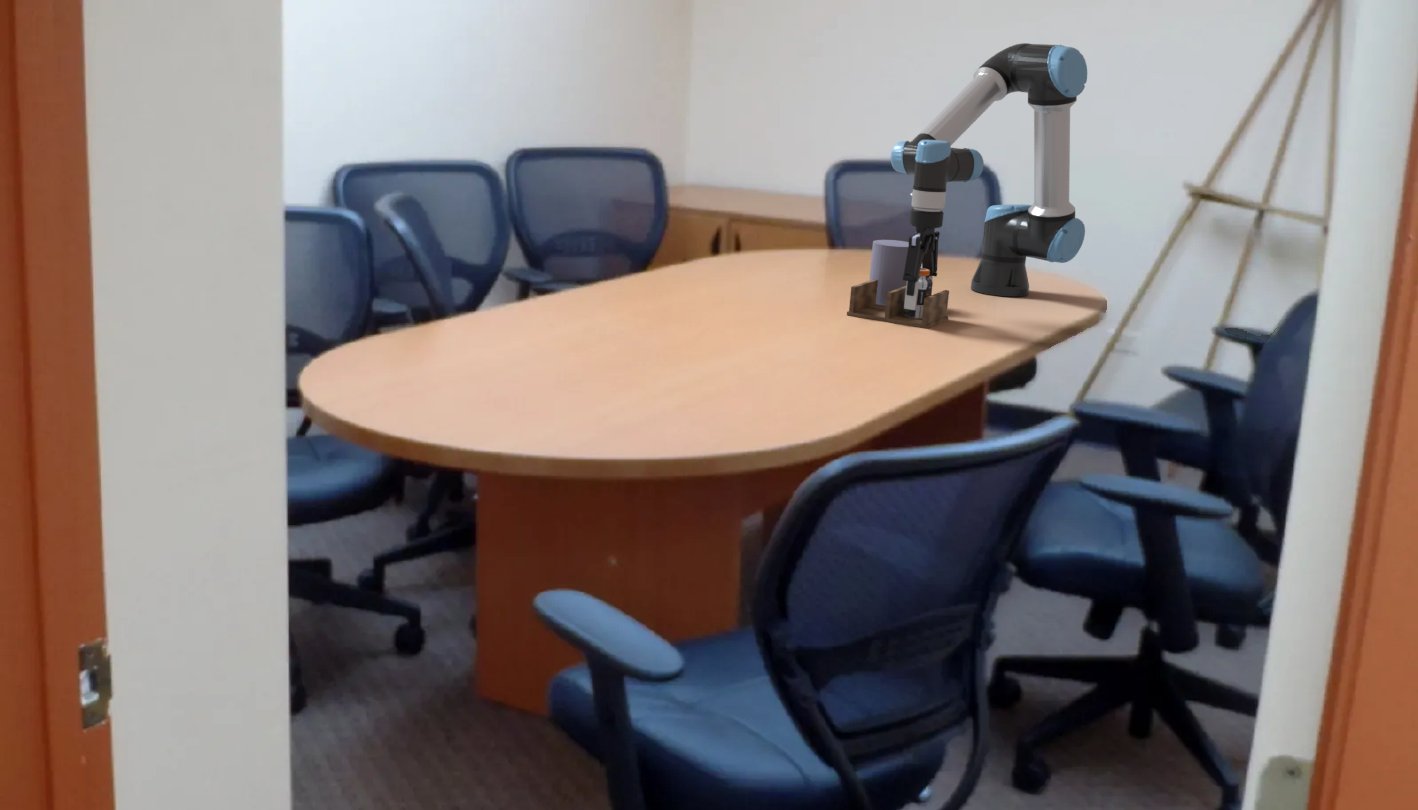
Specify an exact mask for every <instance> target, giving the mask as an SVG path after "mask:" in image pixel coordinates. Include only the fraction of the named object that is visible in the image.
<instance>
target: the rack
mask: <svg viewBox="0 0 1418 810" xmlns="http://www.w3.org/2000/svg"><path fill="white" fill-rule="evenodd" d="M877 287H878V280H877V279H873V280H870V281H869V280H868V281H865V282H861V283H859V284H856V285H852V286H850V294H849V295H850V296H849V307H848V308H849V309H848V311H846V316H850V317H856V318H862V319H868V320H874V321H879V322H886V323H891V324H897V325H898V324H899V325H903V326H910V327H916V328H922V329H931V328H932V327H934V326H937V325H938V324H941V323H943V322H946V321H947V320H949V315H947V313H948V306H949V304H948V303H949V295H950V290H947V289H943V290H941V291H939V292H937V293H934V294H931V296H929V297H926V298H924V305H923V315H922V319H914V318H909V317H906V316H904V303H905V293H906V286H904V287H901V288H898V289H896V290H893V291H890V292H887V300H886V306H884V305H878V304H876V297H877Z"/></svg>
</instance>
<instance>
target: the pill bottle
mask: <svg viewBox="0 0 1418 810" xmlns="http://www.w3.org/2000/svg"><path fill="white" fill-rule="evenodd" d="M929 275H930V270H928V269H924V268H922V267H921V269H920V272H919V276H918V280H917V282H919V287H918V297H917V306H916V310H910V309H904V316H906V317H909V318H914V319H922V315H923V305H924V298H926V297H929V296H931V295H933V294H932V293H933V286H934V285H933V283H934V282H933V281H932V280H931V279H930V278H929Z"/></svg>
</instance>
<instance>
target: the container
mask: <svg viewBox="0 0 1418 810" xmlns="http://www.w3.org/2000/svg"><path fill="white" fill-rule="evenodd" d="M908 247H909V241H904V240H897V239H896V240H895V239H876V240H873V241H872V249H871V261H870V269H869V279H868V281H870V280H873V279H877V280H878V287H877V297H876V304H878V305H884V306H886V300H887V292H890V291H893V290H896V289H898V288H901V287H904V286H906V283H907V281H905V280H903V276H904V270H905V264H906V258H907V252H908ZM911 275H912V274H911Z"/></svg>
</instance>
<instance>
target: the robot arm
mask: <svg viewBox="0 0 1418 810" xmlns="http://www.w3.org/2000/svg"><path fill="white" fill-rule="evenodd" d="M1087 82H1088V66H1087V62H1086V59H1085V57H1084V55H1083V54H1082V53H1081V52H1080V50H1079V49H1077V48H1076V47H1072V46H1065V45H1062V44H1045V43H1044V44H1041V43H1040V44H1039V43H1029V42H1028V43H1025V42H1023V43H1018V44H1017V43H1016V44H1014V45H1011V46H1008V47H1006V48H1004V49H1001V51H999V52H996V53H995V54H994V55H993V56H991V57H990V58H988V59H987V60H986V61H984V63H983V64H981V65H980V66H979V68H978V69H975V72H974V74H973V78H972V80H971V81H970V82H969V83H968V84H967V85H966V86H965V87H964V88H963V89H962V90H961V91H960V92H959V93H958V94H957V95H956V96H955V97H954V98H953V99H952V100H951V101H950V102H949V103H948V104H947V105H946V106H945V107H944V108H943V109H942V110H941V111H940V112H939V113H938V114H937V115H936V116H935V117H934V118H933V119H932V120H931V121H930V122H929V123H928V124H927V125H926V126H925V127H924V128H923V129H922V130H921V131H920V132H919V133H918V134H917V136H915V138H913V139H912V140H911V141H909V140H905V141H904V140H903V141H902V140H901V141H898V142H897V143H896V144H895V145H894V146H893V147H892V149H891V152H890V163H891V166H892V169H894V171H896V172H897V173H901V174H905V175H908V176H913V178H914V179H913V185H912V192H911V193H909V194H910V197H911V207H912V208H911V209H910V210H909V211H910V213H909V222H908V223H909V224H910V226H913V227H915V231H914V234H913V235H909V237H908V242H909V247H908V252H907V258H906V264H905V270H904V276H903V280H905V281H907V283H906V293H905V303H904V309H910V310H916V306H917V297H918V287H919V282H917V280H918V276H919V272H920V269H921V268H924V269H928V270H930V275H929V278H930V279H931V280H932V282H933V280H934V279H933V278H934V277H937V276H938V262H939V261H938V260H939V258H938V257H939V256H938V255H939V240H940V239H939V238H940V231H936V229H939V228H942V227H943V222H944V212H943V209H945V207H946V195H947V183H952V182H953V183H957V182H958V183H959V182H960V183H961V182H962V183H967V182H971V181H975V180H977V179H978V178H979V177H980V176H981V175H982V173H983V170H984V159H983V155H982V154H981V153H980V152H979V151H978V150H976V149H973V148H966V147H962V148H958V147H951V146H952V145H953V144H954V143H956V142H957V140H958V139H959V138H960V137H961V136H962V135H963V134H964V133H965V132H966V131H967V130H968V129H969V128H970V127H971V126H972V125H973V124H974V123H975V122H976V121H977V120H978V119H979V117H981V116H982V114H984V113H985V112H986V111H987V110H988V109H989V107H991V105H992V104H994V102H998V101H1002V100H1003V99H1004V98H1005V97H1006V96H1007V95H1009V94H1011V93H1018V92H1020V93H1027V104H1028V105H1029V106H1030V107H1031V108H1032V110H1033V117H1034V119H1033V124H1034V125H1033V131H1034V132H1033V133H1034V134H1033V138H1034V139H1033V140H1034V141H1033V142H1034V143H1033V144H1034V145H1033V150H1034V152H1033V157H1034V159H1033V160H1034V163H1033V164H1034V165H1033V166H1034V167H1033V173H1034V174H1033V175H1034V176H1033V181H1034V182H1033V183H1034V185H1033V190H1034V191H1033V193H1034V194H1033V201H1034V202H1033V204H996V205H991V206H989V207H988V208H987V210H986V213H985V214H986V216H985V219H984V227H983V236H982V246H981V255H980V261H979V263H978V265H977V267H976V270H975V272H974V275H973V277H972V278H971V283H970V290H972V291H974V292H977V293H981V294H985V295H988V296H989V295H990V296H999V297H1025V296H1028V295H1029V292H1030V282H1029V277H1028V272H1027V268H1026V262H1027V258H1033V259H1035V260H1036V259H1037V260H1042V261H1046V262H1049V263H1058V264H1061V263H1062V264H1064V263H1068V262H1070V261H1071V260H1073V259H1074V258H1075V257H1076V256H1077V254H1078V253H1079V252H1080V250H1081V248H1082V245H1083V243H1084V240H1085V235H1086V234H1085V233H1086V227H1085V224H1084V221H1082V220H1081V219H1080V218H1077V217H1076V207H1075V206H1074V205H1073V204H1072V203H1071V202H1070V166H1071V164H1070V162H1071V161H1070V158H1071V157H1070V155H1071V153H1070V152H1071V149H1070V148H1071V108H1072V106H1073V105H1074V104H1076V102H1077V97H1078V96H1079V95H1081V94H1082V93H1083V91H1084V89H1085V87H1086V86H1085V84H1087ZM911 274H912V275H911Z"/></svg>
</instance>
